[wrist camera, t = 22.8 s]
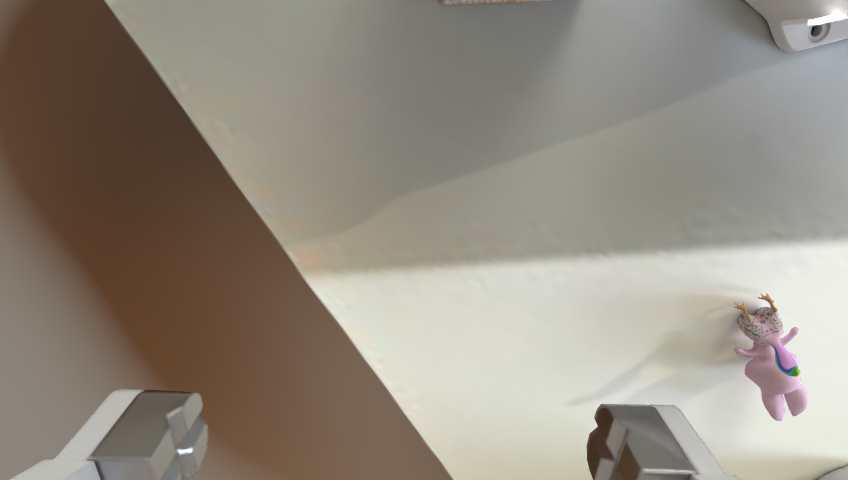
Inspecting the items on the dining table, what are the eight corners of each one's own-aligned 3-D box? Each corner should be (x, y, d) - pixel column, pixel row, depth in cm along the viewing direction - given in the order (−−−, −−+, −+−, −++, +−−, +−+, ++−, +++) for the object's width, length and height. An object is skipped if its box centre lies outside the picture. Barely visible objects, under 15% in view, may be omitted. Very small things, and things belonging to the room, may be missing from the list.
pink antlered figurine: (708, 303, 46) (747, 417, 49) (746, 330, 40) (787, 456, 43) (770, 280, 45) (805, 398, 48) (817, 304, 39) (853, 436, 42)
